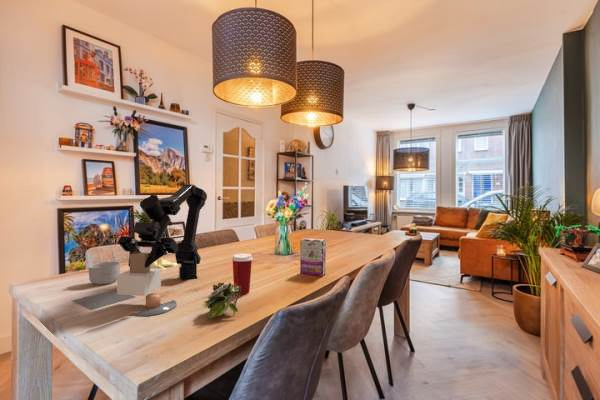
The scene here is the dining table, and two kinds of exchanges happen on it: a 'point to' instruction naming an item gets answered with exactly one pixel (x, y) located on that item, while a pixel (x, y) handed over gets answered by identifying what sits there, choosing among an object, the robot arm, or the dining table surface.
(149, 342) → the dining table surface
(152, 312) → the grey disc
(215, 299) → the green leafy cluster
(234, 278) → the paper cup
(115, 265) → the teacup
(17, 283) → the dining table surface
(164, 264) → the cloth
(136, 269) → the white brown stepped block
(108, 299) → the mat
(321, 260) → the candy bar box
